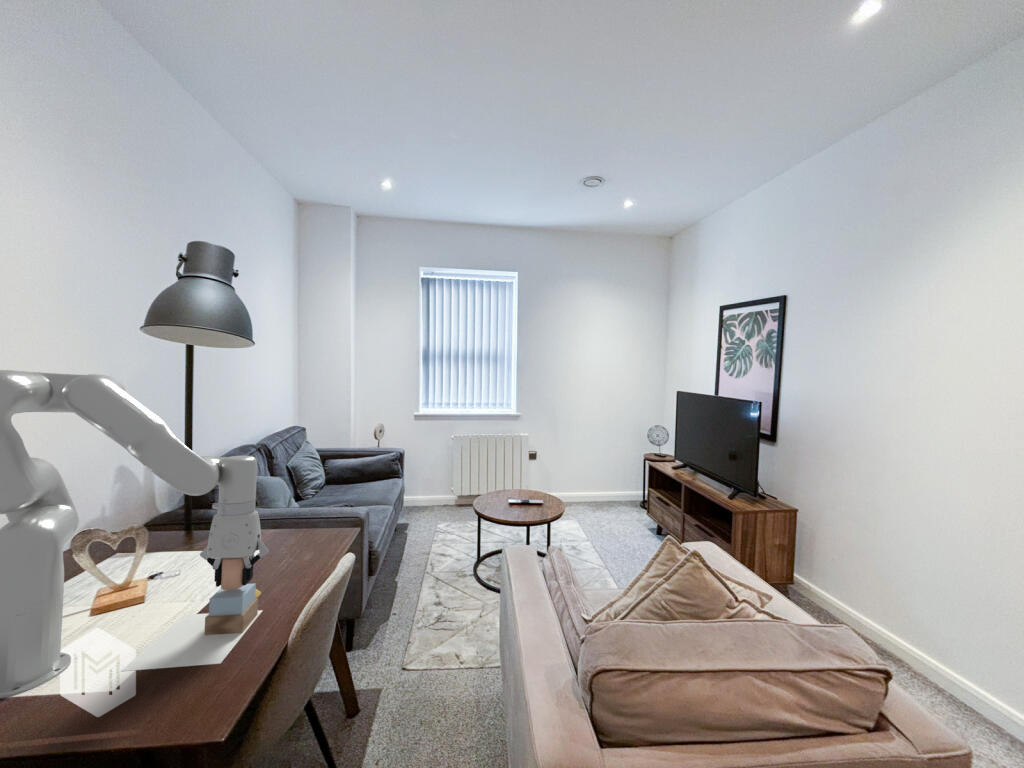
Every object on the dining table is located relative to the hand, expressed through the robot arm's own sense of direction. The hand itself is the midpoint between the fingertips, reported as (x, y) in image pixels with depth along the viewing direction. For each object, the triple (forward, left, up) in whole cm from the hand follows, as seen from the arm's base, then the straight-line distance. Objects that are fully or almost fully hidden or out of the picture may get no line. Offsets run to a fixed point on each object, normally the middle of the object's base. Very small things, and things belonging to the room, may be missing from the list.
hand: (233, 582), depth 99 cm
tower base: (0, 0, -10) cm, 10 cm away
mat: (-4, -4, -11) cm, 12 cm away
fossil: (-5, +15, -11) cm, 19 cm away
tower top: (0, 0, -6) cm, 6 cm away
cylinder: (0, 0, -1) cm, 1 cm away
